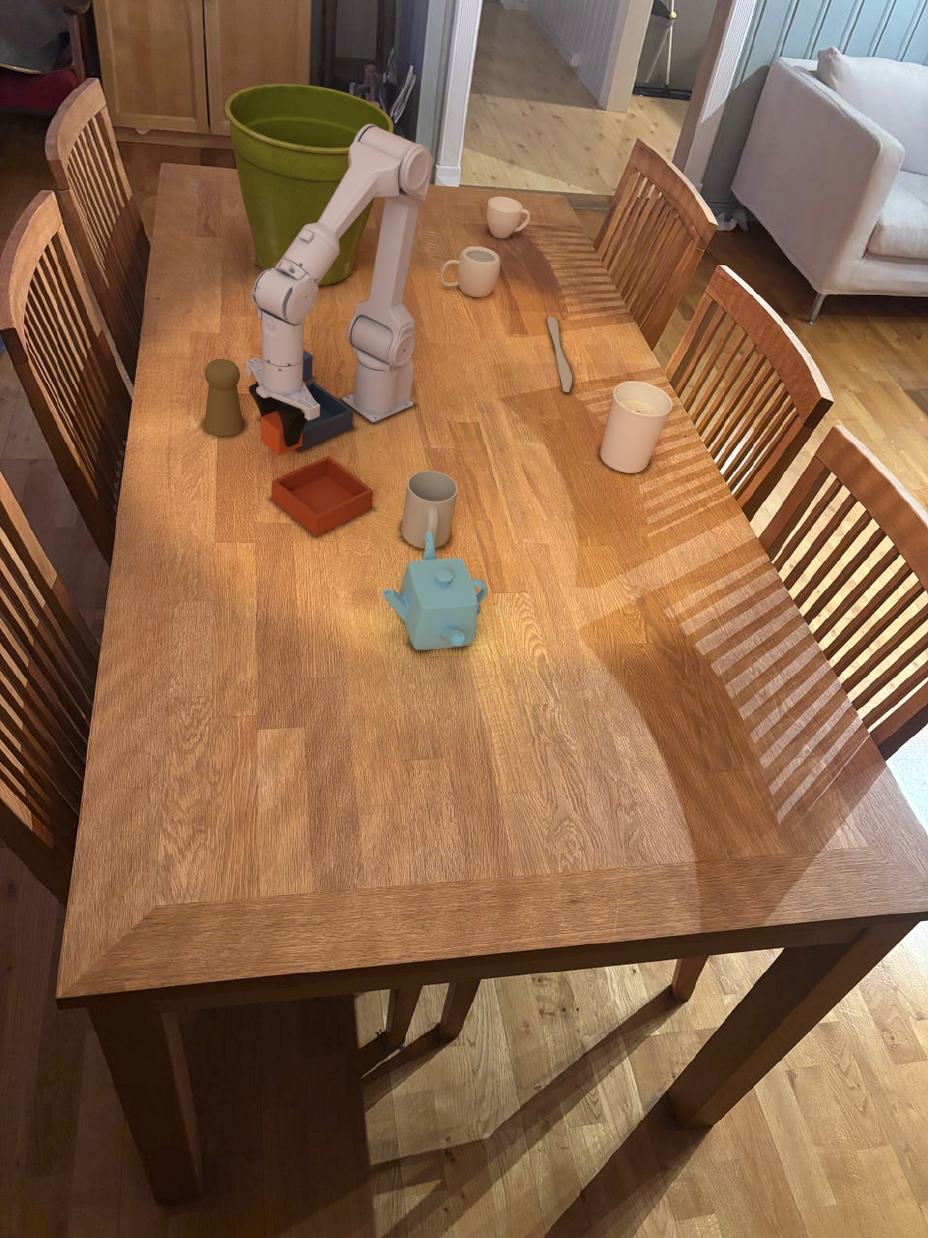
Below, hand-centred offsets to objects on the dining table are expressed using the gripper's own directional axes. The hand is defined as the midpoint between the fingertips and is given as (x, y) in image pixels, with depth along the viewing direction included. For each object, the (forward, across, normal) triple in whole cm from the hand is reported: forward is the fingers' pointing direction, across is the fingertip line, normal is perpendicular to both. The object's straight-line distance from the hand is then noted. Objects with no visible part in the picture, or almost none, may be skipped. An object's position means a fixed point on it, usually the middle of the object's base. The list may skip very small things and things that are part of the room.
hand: (281, 435), depth 145 cm
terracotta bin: (+5, +11, -1) cm, 12 cm away
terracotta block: (+1, 0, 0) cm, 1 cm away
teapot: (+6, +39, -6) cm, 40 cm away
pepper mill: (+6, -13, -1) cm, 14 cm away
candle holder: (+6, +31, +48) cm, 57 cm away
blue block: (+5, -18, +17) cm, 25 cm away
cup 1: (+6, +26, +6) cm, 27 cm away
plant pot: (+6, -48, +44) cm, 65 cm away
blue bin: (+5, -6, +10) cm, 13 cm away
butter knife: (+6, +3, +64) cm, 64 cm away
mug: (+6, -24, +66) cm, 70 cm away
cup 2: (+6, -38, +93) cm, 101 cm away
